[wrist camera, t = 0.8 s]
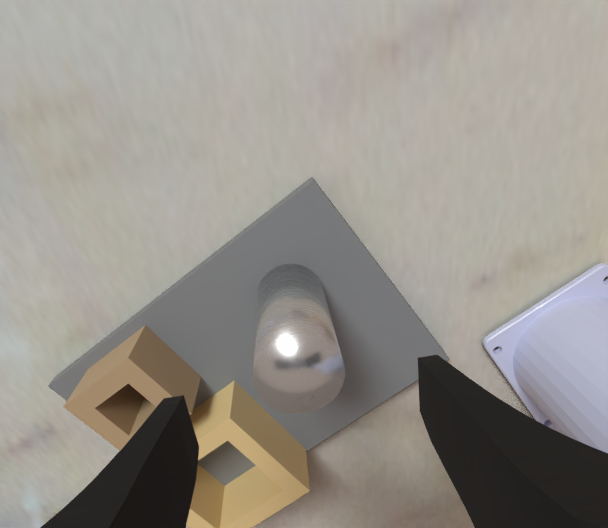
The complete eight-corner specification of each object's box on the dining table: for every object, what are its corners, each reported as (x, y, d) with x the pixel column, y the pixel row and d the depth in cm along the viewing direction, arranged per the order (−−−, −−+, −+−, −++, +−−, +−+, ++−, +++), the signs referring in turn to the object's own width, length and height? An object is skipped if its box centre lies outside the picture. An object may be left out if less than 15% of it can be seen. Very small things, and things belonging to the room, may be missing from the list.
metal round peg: (335, 298, 23) (363, 380, 16) (285, 334, 23) (291, 428, 17) (296, 250, 21) (308, 318, 15) (243, 290, 22) (233, 372, 16)
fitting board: (444, 351, 25) (472, 393, 22) (212, 502, 28) (204, 560, 25) (312, 176, 21) (320, 193, 17) (54, 376, 24) (17, 425, 20)
